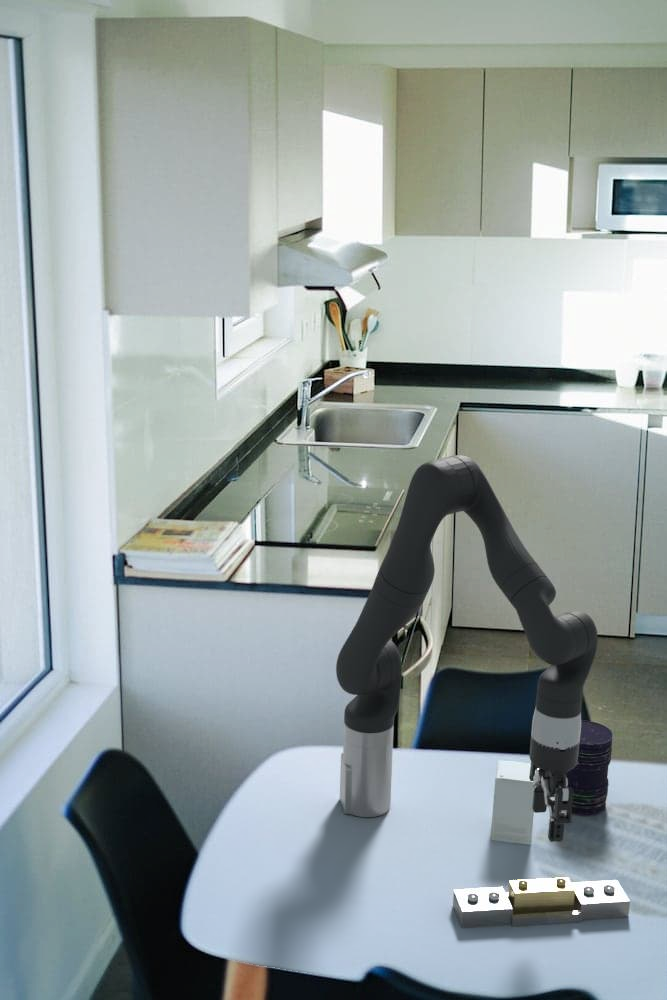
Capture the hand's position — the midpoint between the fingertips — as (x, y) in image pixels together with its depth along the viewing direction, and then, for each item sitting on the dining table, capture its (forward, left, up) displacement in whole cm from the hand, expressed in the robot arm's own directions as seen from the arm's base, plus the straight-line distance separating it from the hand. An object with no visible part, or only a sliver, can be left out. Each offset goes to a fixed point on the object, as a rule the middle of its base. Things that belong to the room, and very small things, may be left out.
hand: (547, 825), depth 200 cm
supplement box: (+2, +24, -16) cm, 29 cm away
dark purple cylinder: (+18, +33, -16) cm, 41 cm away
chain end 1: (-7, 0, -16) cm, 17 cm away
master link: (0, 0, -16) cm, 16 cm away
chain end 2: (+7, 0, -16) cm, 17 cm away
